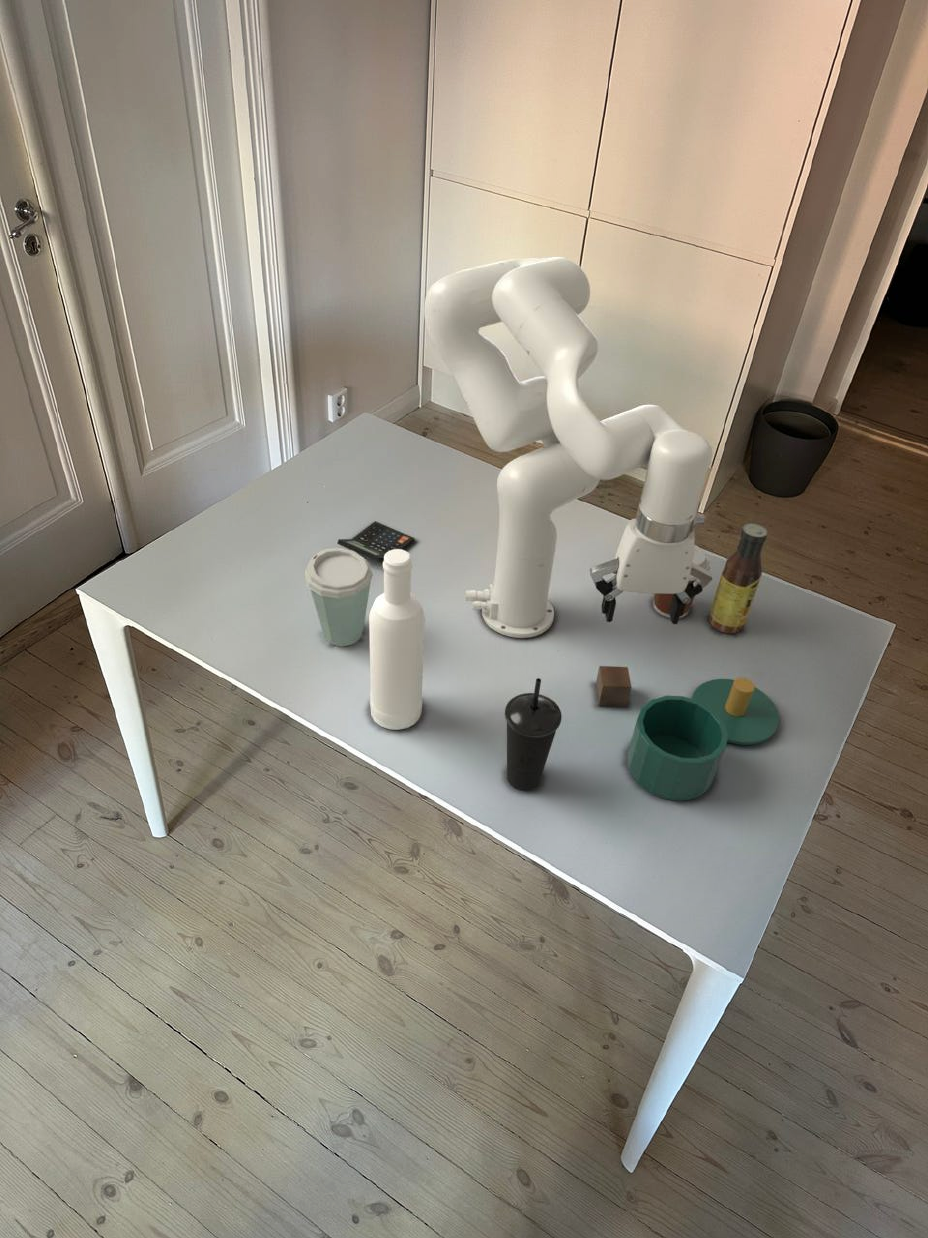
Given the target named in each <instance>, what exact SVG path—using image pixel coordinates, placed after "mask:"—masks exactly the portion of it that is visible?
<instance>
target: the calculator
mask: <svg viewBox="0 0 928 1238" xmlns="http://www.w3.org/2000/svg"><path fill="white" fill-rule="evenodd" d="M413 543H415V537H413V536H410V535H408V534H405V533H404V532H401V531H399V530H396V529H394V528H391V526H388V525H386V524H382V523H381V522H378V521H373V522H372V523H371V524H370V525H368V526H367V527H365V528H364V529H363V530H362V531H360V532H359V533H357V534H356V535H354V536H353V537H352V538H348V539H347V538H342V539H341V538H338V540H337V545H340V546H341V547H343V548H345V549H347V550H352V551H354V552H356V553H357V554H359V555H360V556H362V557H366V558H368V559H370V560H372V561H374V562H376V563H383V562H384V555H385V554H386V553H387V552H388V551H391V550H394V549H401V550H405V551H406V550H407V548H409V547H410V546H411V545H412V544H413Z"/></svg>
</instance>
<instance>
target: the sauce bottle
mask: <svg viewBox="0 0 928 1238" xmlns="http://www.w3.org/2000/svg"><path fill="white" fill-rule="evenodd" d="M768 533H769V532H768V530H767V528H765V527H764V526H762V525H760V524H757V523H747V524H745V525H744V526H742V529H741V532H740V539H739V543H738V544H737V547H736V550H735V551H733V552H732V553H731V554H730V555H728V557H727V559H726V561H725V563H724V568H723V570H722V572H721V575H720V579H719V582H718V585H717V589H716V592H715V595H714V597H713V601H712V605H711V609H710V612H709V613H710V614H709V619H708V620H709V623H710V625H711V626H712V627H713V628H714V629H715V630H717V631H719V632H721V633H724V634H731V635H732V634H736V633H739V632H740V631H741V630H742V629H743V627H744V625H745V624H746V622H747V619H748V615H749V613H750V610H751V607H752V604H753V602H754V599H755V596H756V592H757V590H758V587H759V584H760V581H761V578H762V574H763V570H762V568H763V567H762V559H761V558H762V557H761V553H762V550H763V547H764V543H765V542H766V541H767V537H768Z"/></svg>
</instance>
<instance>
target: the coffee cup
mask: <svg viewBox="0 0 928 1238" xmlns="http://www.w3.org/2000/svg"><path fill="white" fill-rule="evenodd" d="M692 563H694V564H696V565H698V566H700V567H702V568H704V569H706V570H708V571H709V572H710V570H711V566H710V561H709V559H708V558H707V555H706V553H705V551H704V550H703V548H701V547H699V546H698V545H697V544H694V555H693V562H692ZM694 580H697V578H696V577H694V576H692V575H690V578H689V582H688V584H689V583H691V582H692V581H694ZM672 596H673V594H663V593H654V597H653V603H652V604H653V608H654V610H655V611H656V613H658V614H660V615H661V616H664V617H666V618H670V615H669V607H670V603H671V600H672ZM695 597H696V596H694V597H692V598H691V600H690V602H689V603H686V605H685V609H684V612H683V615H682V616H680V617H679V619H681V618H684V617H685V616H687V615H688V614H689V612H690V609H691V607H692V604H693V602H694V599H695ZM670 619H671V618H670Z"/></svg>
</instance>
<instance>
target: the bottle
mask: <svg viewBox="0 0 928 1238" xmlns="http://www.w3.org/2000/svg"><path fill="white" fill-rule="evenodd" d="M382 569H383V592H382V593H380V595H378V596H377V597H376V598H375V600H374V602H373V604H372V606H371V608H370V611H369V614H368V624H369V625H368V627H369V629H368V631H369V671H370V672H369V677H370V678H369V679H370V680H369V681H370V682H369V684H370V695H369V705H370V717H372V719H373V721H374V722H375V723H376V724H378V726H380V727H382V728H385V729H388V730H395V731H396V730H397V731H398V730H404V729H409V728H410V727H411V726H412V727H413V726H414V725H415V724H416V723H418V721H419V720H420V717H421V715H422V708H423V683H424V682H423V680H424V653H425V629H426V628H425V624H426V617H425V611H424V608H423V606H422V603H421V602H420V600H419V598H418V597H417V596H416V595H414V594H413V593H411V591H412V587H411V585H412V569H413V561H412V555H411V554H410V553H409V552H408V551H406V549H405V550H401V549H394V550H391V551H388V552H387V553H386V554H385V555H384V561H383V562H382Z"/></svg>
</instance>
